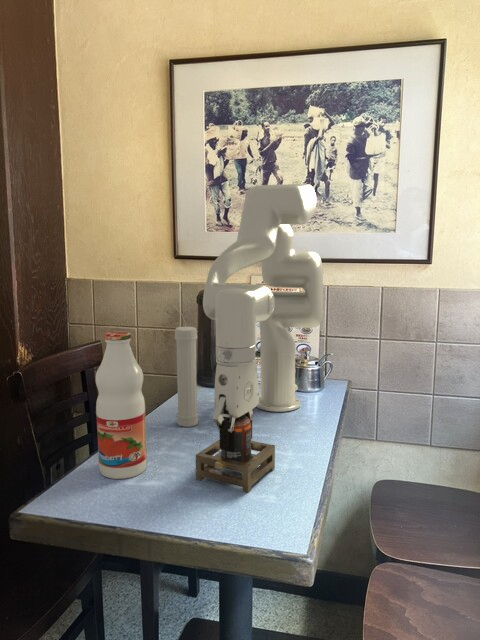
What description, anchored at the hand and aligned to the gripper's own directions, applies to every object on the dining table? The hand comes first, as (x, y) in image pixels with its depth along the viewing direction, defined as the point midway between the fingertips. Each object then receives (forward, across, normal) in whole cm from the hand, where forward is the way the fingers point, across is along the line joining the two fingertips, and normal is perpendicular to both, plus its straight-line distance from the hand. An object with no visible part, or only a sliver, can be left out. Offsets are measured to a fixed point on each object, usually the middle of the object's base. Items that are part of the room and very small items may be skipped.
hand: (236, 443), depth 103 cm
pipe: (+7, +19, +25) cm, 32 cm away
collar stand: (+6, 0, 0) cm, 6 cm away
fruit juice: (+7, -9, +21) cm, 24 cm away
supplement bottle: (+4, 0, 0) cm, 4 cm away
